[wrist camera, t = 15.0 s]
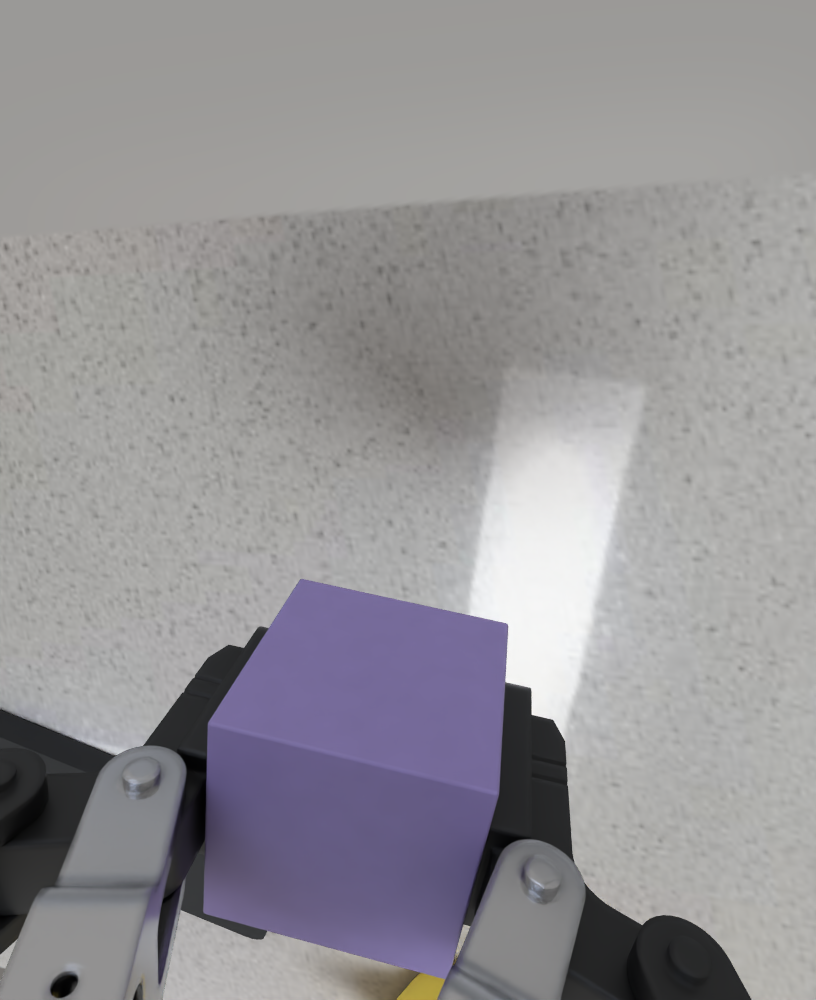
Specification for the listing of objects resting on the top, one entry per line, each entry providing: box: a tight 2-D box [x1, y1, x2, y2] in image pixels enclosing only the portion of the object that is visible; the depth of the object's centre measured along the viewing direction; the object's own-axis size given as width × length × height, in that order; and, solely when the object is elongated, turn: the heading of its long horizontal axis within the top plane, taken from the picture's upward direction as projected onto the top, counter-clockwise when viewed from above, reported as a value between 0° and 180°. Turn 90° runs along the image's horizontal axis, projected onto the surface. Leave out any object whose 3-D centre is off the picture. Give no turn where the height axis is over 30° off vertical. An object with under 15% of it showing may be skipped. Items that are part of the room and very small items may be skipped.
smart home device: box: [0, 710, 267, 939], centre depth 38 cm, size 8×2×20 cm
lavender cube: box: [203, 579, 508, 979], centre depth 12 cm, size 4×4×4 cm
